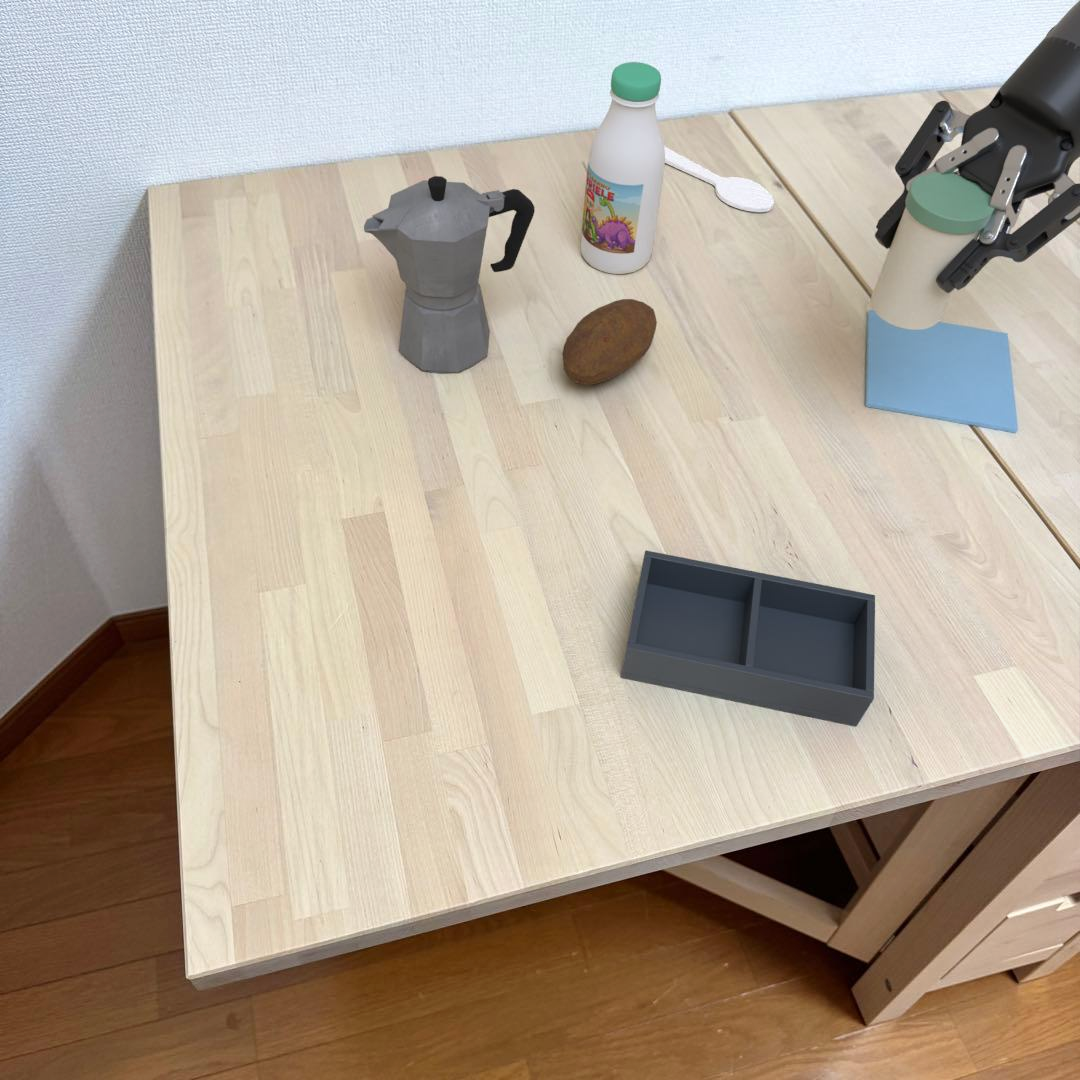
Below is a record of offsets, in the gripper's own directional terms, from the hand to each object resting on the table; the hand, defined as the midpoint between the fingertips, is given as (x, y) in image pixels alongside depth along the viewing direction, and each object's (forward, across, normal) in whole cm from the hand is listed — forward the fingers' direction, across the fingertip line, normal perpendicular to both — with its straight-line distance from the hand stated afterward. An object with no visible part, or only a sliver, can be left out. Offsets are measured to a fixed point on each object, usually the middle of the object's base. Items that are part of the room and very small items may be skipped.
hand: (910, 263), depth 75 cm
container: (+2, 0, -5) cm, 5 cm away
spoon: (+2, +40, -27) cm, 48 cm away
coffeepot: (+31, +30, +1) cm, 43 cm away
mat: (+3, +3, -26) cm, 26 cm away
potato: (+23, +20, -7) cm, 31 cm away
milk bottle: (+15, +34, -15) cm, 40 cm away
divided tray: (+30, -12, 0) cm, 32 cm away
